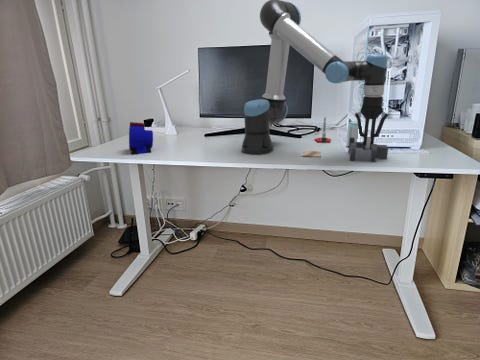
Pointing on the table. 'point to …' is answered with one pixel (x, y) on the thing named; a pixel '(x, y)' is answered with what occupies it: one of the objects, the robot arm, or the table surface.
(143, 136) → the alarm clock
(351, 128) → the can
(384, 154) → the plug
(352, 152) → the housing
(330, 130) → the table surface
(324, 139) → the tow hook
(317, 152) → the cork mat
